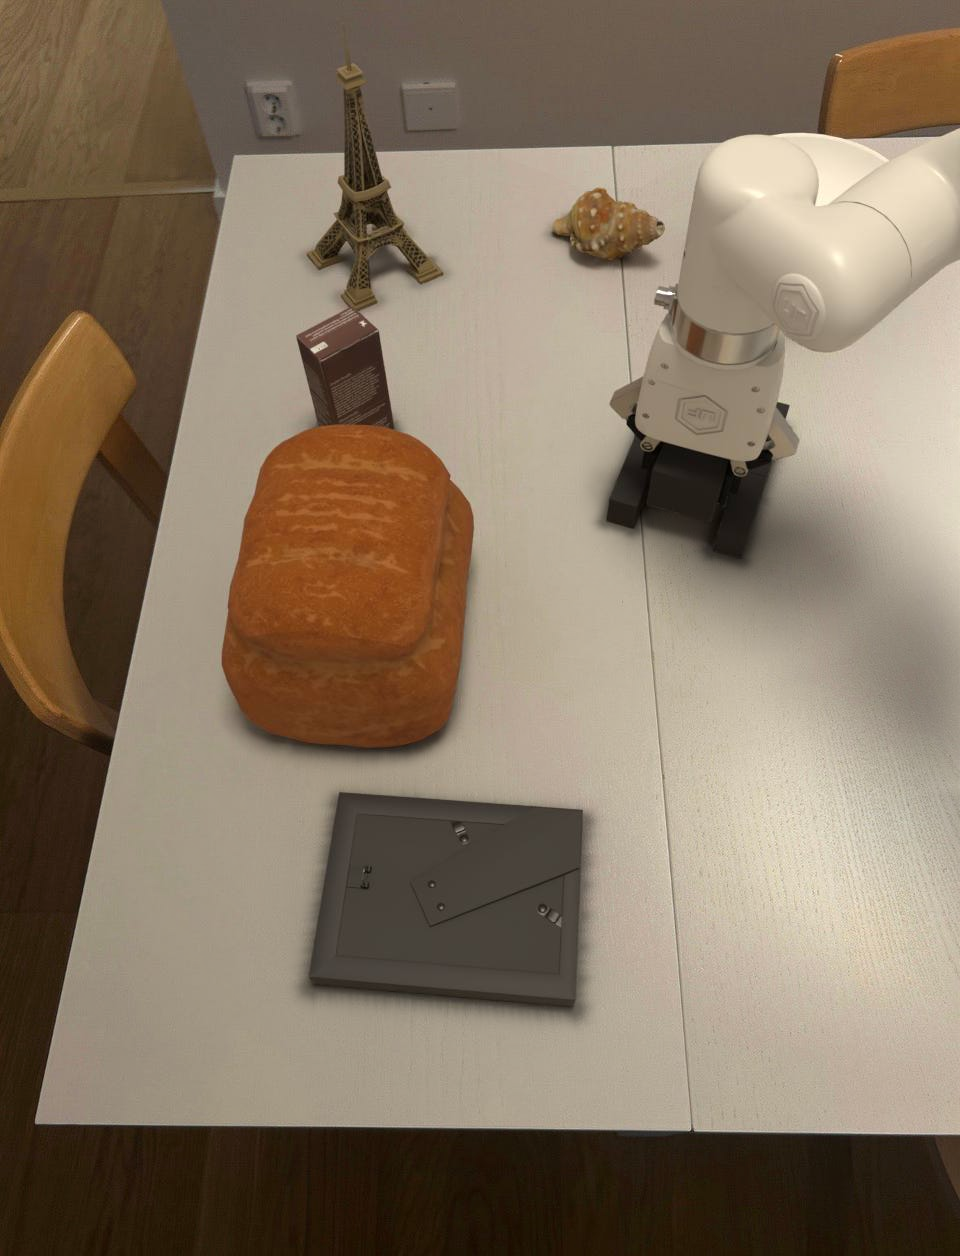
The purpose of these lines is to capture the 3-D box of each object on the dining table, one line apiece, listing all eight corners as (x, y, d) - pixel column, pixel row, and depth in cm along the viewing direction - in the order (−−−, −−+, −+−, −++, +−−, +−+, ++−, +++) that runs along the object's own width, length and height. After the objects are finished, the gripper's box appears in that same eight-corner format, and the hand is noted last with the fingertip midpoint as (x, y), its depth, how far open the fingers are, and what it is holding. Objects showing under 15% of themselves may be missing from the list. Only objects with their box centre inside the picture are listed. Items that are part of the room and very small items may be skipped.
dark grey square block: (729, 468, 91) (739, 432, 88) (710, 523, 88) (720, 488, 85) (666, 451, 93) (673, 414, 89) (645, 505, 90) (652, 470, 86)
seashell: (634, 246, 117) (682, 194, 108) (609, 302, 114) (656, 253, 105) (563, 199, 115) (606, 141, 106) (536, 255, 112) (578, 201, 103)
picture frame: (581, 819, 78) (342, 802, 79) (583, 807, 76) (338, 789, 77) (574, 1007, 71) (312, 984, 72) (576, 998, 69) (306, 976, 70)
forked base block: (782, 427, 98) (790, 404, 96) (741, 559, 90) (748, 538, 88) (657, 395, 101) (661, 372, 98) (606, 520, 93) (608, 498, 90)
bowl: (828, 198, 116) (853, 115, 108) (923, 314, 106) (958, 232, 98) (663, 237, 113) (675, 156, 105) (745, 361, 103) (765, 281, 95)
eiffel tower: (393, 220, 115) (368, -22, 94) (443, 274, 110) (428, 32, 89) (307, 255, 112) (260, 14, 91) (353, 312, 108) (316, 72, 86)
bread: (232, 743, 82) (174, 627, 68) (284, 524, 93) (244, 384, 79) (457, 760, 81) (446, 645, 67) (482, 535, 92) (477, 396, 78)
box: (369, 403, 101) (353, 302, 91) (395, 430, 99) (383, 331, 89) (315, 432, 99) (293, 333, 89) (341, 461, 97) (322, 363, 87)
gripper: (594, 323, 75) (579, 488, 90) (838, 384, 71) (779, 545, 87) (625, 257, 79) (605, 426, 94) (859, 311, 75) (799, 478, 90)
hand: (689, 482), depth 90 cm, fingers closed on dark grey square block, 5 cm apart
